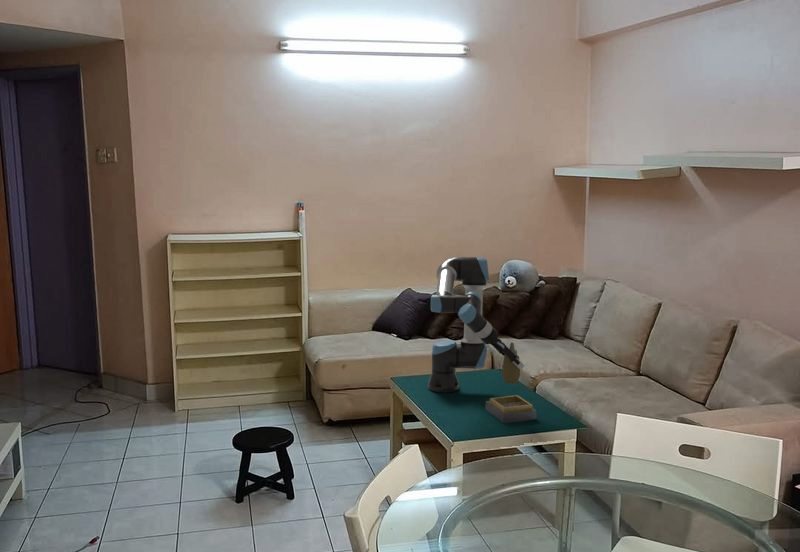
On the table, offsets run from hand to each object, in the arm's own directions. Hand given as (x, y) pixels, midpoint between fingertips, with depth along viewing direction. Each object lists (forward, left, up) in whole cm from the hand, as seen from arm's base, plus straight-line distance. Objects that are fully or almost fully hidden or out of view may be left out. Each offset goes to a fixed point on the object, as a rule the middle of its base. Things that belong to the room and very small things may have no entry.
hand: (518, 365), depth 347 cm
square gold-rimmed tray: (0, -3, -22) cm, 23 cm away
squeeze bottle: (0, -4, -7) cm, 8 cm away
